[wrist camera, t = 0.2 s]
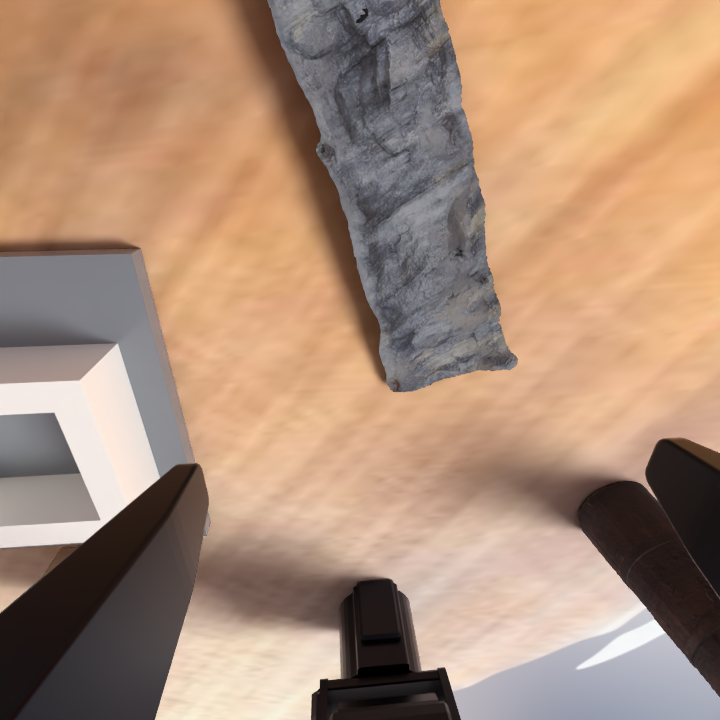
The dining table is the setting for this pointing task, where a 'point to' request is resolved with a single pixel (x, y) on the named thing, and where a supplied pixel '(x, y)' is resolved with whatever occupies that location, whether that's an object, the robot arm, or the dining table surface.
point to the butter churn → (657, 570)
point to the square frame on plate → (81, 394)
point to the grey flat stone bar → (402, 178)
